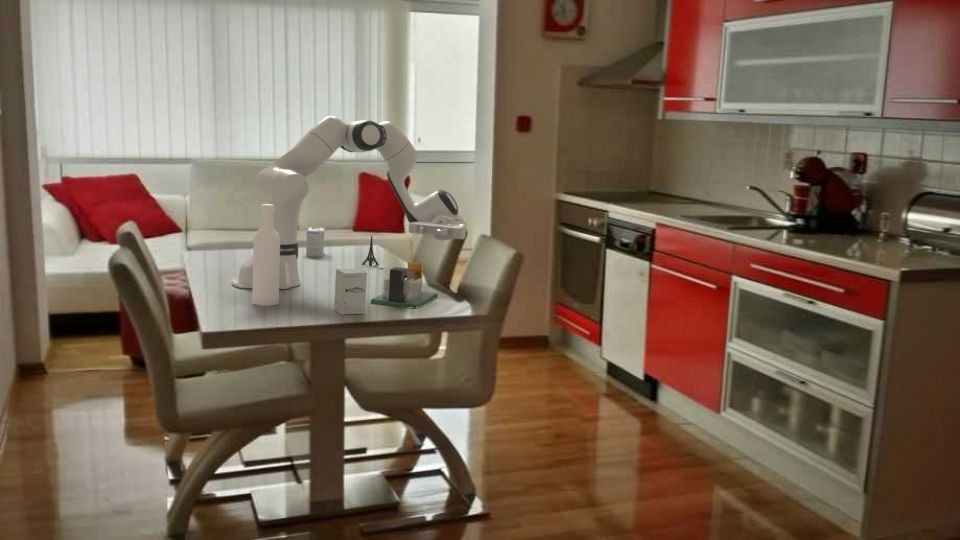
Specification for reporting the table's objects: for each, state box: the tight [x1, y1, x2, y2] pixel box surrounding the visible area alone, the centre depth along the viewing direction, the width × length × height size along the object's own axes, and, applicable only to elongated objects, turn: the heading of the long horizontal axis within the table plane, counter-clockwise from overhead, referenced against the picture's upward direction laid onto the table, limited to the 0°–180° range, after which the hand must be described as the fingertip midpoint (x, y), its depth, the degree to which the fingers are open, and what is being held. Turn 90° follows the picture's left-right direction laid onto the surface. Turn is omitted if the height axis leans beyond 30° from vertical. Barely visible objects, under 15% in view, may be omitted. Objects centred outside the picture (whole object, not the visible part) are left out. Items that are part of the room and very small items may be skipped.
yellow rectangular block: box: [404, 261, 424, 281], centre depth 280 cm, size 11×5×8 cm, turn 164°
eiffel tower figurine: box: [360, 235, 379, 266], centre depth 339 cm, size 15×10×13 cm
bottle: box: [251, 203, 280, 307], centre depth 258 cm, size 8×8×30 cm
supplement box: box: [333, 268, 368, 316], centre depth 255 cm, size 7×7×13 cm
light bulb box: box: [305, 226, 325, 258], centre depth 357 cm, size 11×7×11 cm, turn 6°
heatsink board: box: [370, 266, 439, 309], centre depth 278 cm, size 21×15×11 cm
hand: (430, 231), depth 296 cm, fingers open, 5 cm apart
